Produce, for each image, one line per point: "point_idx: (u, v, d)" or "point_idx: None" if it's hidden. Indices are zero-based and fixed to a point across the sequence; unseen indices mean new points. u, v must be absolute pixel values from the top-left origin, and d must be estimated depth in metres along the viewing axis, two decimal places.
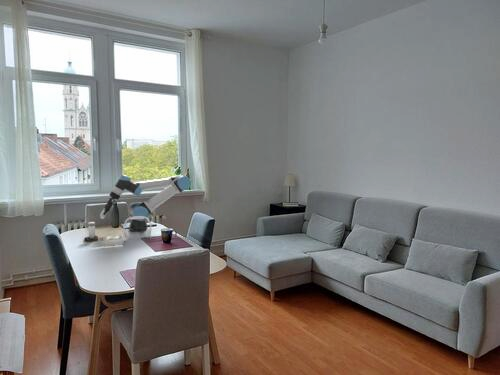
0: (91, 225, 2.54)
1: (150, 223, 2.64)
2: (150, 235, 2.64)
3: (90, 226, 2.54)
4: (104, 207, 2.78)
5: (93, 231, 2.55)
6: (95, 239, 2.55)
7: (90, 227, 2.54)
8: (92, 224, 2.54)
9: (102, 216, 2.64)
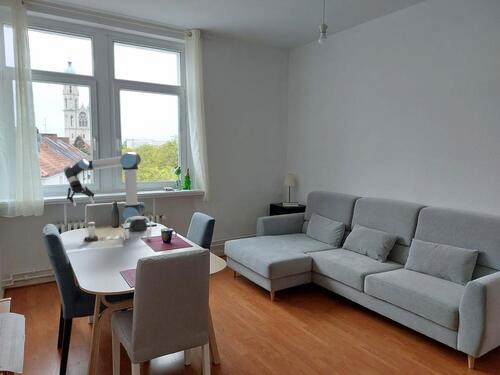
0: (91, 225, 2.54)
1: (150, 223, 2.64)
2: (150, 235, 2.64)
3: (90, 226, 2.54)
4: None
5: (93, 231, 2.55)
6: (95, 239, 2.55)
7: (90, 227, 2.54)
8: (92, 224, 2.54)
9: (74, 204, 2.61)
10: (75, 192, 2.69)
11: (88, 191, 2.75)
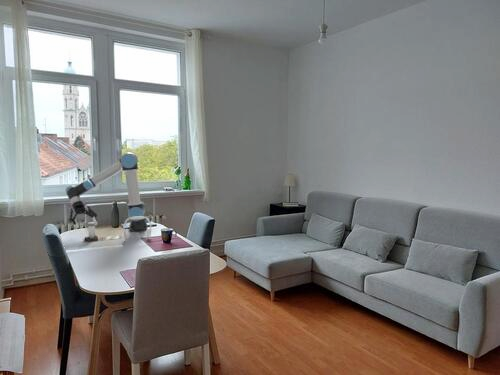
0: (91, 225, 2.54)
1: (150, 223, 2.64)
2: (150, 235, 2.64)
3: (90, 226, 2.54)
4: None
5: (93, 231, 2.55)
6: (95, 239, 2.55)
7: (90, 227, 2.54)
8: (92, 224, 2.54)
9: (76, 226, 2.53)
10: (77, 213, 2.61)
11: (91, 211, 2.67)
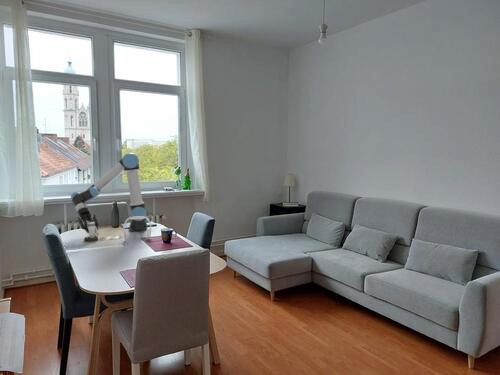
0: (91, 225, 2.54)
1: (150, 223, 2.64)
2: (150, 235, 2.64)
3: (90, 226, 2.54)
4: None
5: (93, 231, 2.55)
6: (95, 239, 2.55)
7: (90, 227, 2.54)
8: (92, 224, 2.54)
9: (89, 234, 2.53)
10: None
11: (94, 220, 2.62)
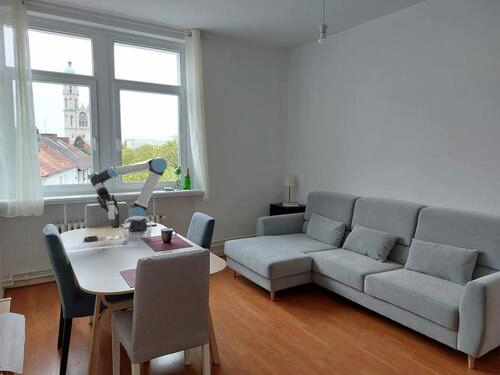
0: (110, 204, 2.58)
1: (150, 223, 2.64)
2: (150, 235, 2.64)
3: (109, 205, 2.58)
4: None
5: (112, 210, 2.60)
6: (95, 239, 2.55)
7: (109, 206, 2.58)
8: (111, 203, 2.58)
9: (109, 213, 2.57)
10: None
11: (113, 199, 2.67)
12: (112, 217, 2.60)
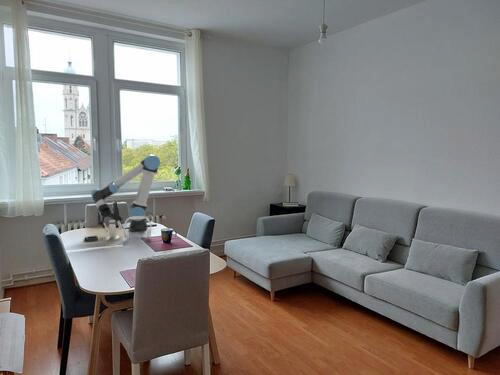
0: (112, 223, 2.60)
1: (150, 223, 2.64)
2: (150, 235, 2.64)
3: (111, 224, 2.60)
4: None
5: (114, 229, 2.61)
6: (95, 239, 2.55)
7: (111, 225, 2.60)
8: (113, 222, 2.60)
9: (105, 229, 2.57)
10: (104, 216, 2.64)
11: (116, 215, 2.70)
12: (113, 236, 2.61)
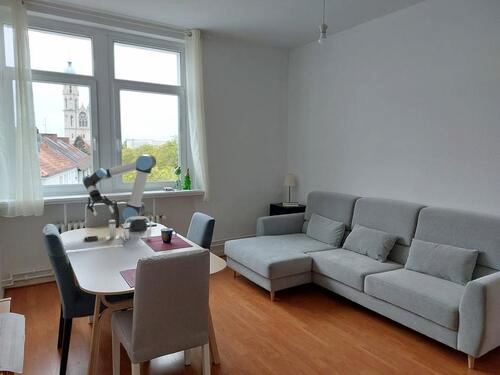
0: (112, 223, 2.60)
1: (150, 223, 2.64)
2: (150, 235, 2.64)
3: (111, 224, 2.60)
4: None
5: (114, 229, 2.61)
6: (95, 239, 2.55)
7: (111, 225, 2.60)
8: (113, 222, 2.60)
9: (94, 213, 2.63)
10: (95, 201, 2.71)
11: (107, 200, 2.77)
12: (113, 236, 2.61)
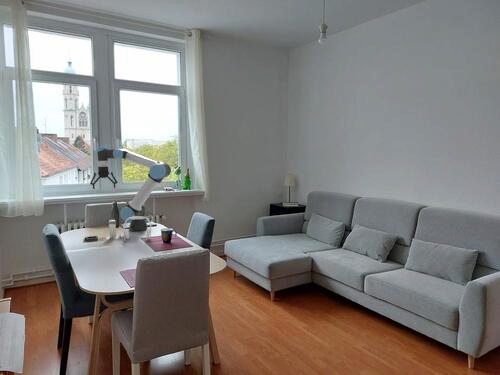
0: (112, 223, 2.60)
1: (150, 223, 2.64)
2: (150, 235, 2.64)
3: (111, 224, 2.60)
4: None
5: (114, 229, 2.61)
6: (95, 239, 2.55)
7: (111, 225, 2.60)
8: (113, 222, 2.60)
9: None
10: None
11: (113, 177, 2.84)
12: (113, 236, 2.61)
